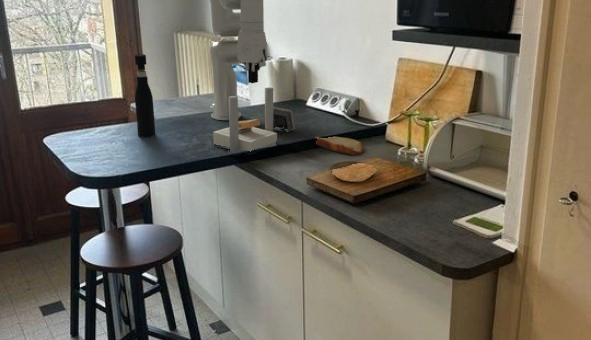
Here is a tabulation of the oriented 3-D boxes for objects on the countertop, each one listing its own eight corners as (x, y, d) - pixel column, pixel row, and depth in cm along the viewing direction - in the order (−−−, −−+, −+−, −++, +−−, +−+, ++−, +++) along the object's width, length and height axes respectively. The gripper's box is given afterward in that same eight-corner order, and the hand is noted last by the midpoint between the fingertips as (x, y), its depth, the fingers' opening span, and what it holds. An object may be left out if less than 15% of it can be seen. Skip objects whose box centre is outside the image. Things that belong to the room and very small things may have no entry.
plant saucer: (322, 181, 175) (322, 173, 174) (336, 166, 188) (337, 158, 187) (369, 188, 170) (370, 180, 169) (380, 172, 183) (381, 164, 182)
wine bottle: (159, 133, 217) (153, 54, 207) (148, 138, 212) (141, 57, 201) (145, 131, 220) (138, 53, 209) (134, 136, 214) (127, 55, 204)
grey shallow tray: (213, 145, 205) (213, 128, 203) (240, 136, 215) (240, 120, 213) (250, 156, 195) (249, 138, 192) (276, 146, 205) (277, 129, 203)
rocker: (230, 129, 204) (229, 123, 203) (240, 126, 208) (239, 120, 207) (250, 127, 197) (249, 121, 197) (260, 124, 201) (259, 118, 201)
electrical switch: (295, 131, 223) (294, 108, 219) (288, 135, 219) (287, 112, 215) (276, 127, 228) (274, 105, 224) (268, 131, 224) (267, 109, 220)
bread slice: (312, 140, 214) (312, 130, 212) (360, 141, 213) (361, 131, 212) (312, 155, 197) (313, 145, 196) (365, 157, 197) (365, 146, 195)
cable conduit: (224, 154, 196) (222, 97, 189) (234, 150, 200) (233, 94, 193) (234, 157, 193) (233, 99, 186) (244, 153, 197) (243, 97, 190)
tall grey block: (259, 142, 209) (259, 88, 202) (268, 139, 213) (268, 86, 206) (269, 145, 206) (269, 90, 199) (278, 141, 210) (278, 88, 203)
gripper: (228, 26, 189) (229, 81, 195) (261, 29, 180) (262, 87, 187) (243, 24, 195) (244, 78, 201) (276, 27, 186) (277, 83, 192)
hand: (253, 82), depth 194 cm, fingers closed
